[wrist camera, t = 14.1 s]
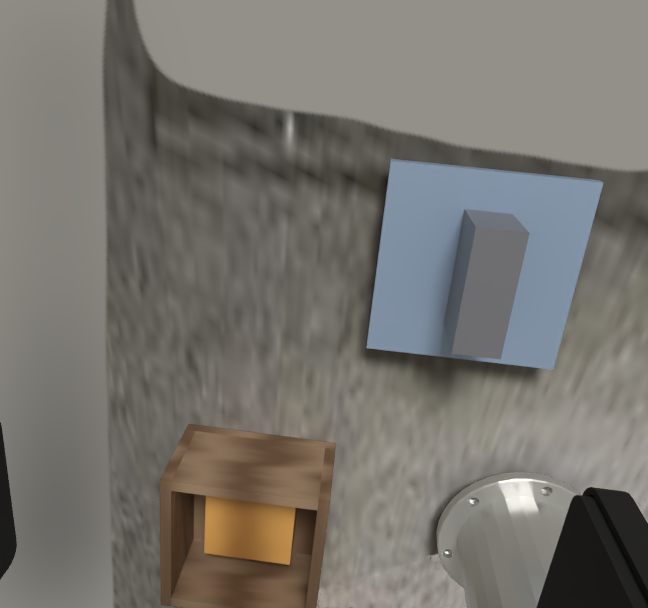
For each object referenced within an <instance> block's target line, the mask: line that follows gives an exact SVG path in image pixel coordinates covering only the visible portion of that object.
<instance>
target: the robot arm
mask: <svg viewBox="0 0 648 608" xmlns="http://www.w3.org/2000/svg"><path fill="white" fill-rule="evenodd" d="M436 535H437V548H438V554H439V558H440V560H441V562H442V564H443V567H444V568H445V570H446V571H447V572H448V574H449V575H450V577H451V578H452V579H454V580H455V581H456V582H457V583H458V584H459V585H460V586H462V587H463V588H464V591H465V597H466V603H467V608H648V523H647V522H646V520H645V518H644V516H643V515H642V513H641V511H640V510H639V508H638V506H637V505H636V503H635V501H634V500H633V498H632V497H631V496H630V494H629V493H627V492H623V491H616V490H608V489H600V488H593V487H590V488H587V489H586V490H585V491H584V493H583V495H581V494H580V493H579V492H578V491H577V490H575V489H574V488H572V487H571V486H569V485H568V484H566V483H565V482H562V481H560V480H558V479H555V478H553V477H550V476H546V475H542V474H538V473H527V472H513V473H503V474H499V475H494V476H490V477H487V478H485V479H482V480H480V481H477V482H475V483H473V484H471V485H470V486H468V487H466V488H465V489H463V490H462V491H461V492H459V493H458V494H457V495H456V496H455V497H454V498H453V499H452V500H451V501H450V502H449V504H448V505H447V506H446V508H445V509H444V510H443V513H442V515H441V517H440V519H439V522H438V527H437V532H436ZM16 546H17V544H16V534H15V526H14V518H13V511H12V503H11V496H10V488H9V480H8V473H7V465H6V457H5V449H4V442H3V434H2V427H1V423H0V579H1V578H2V576H3V575H4V573H5V572H6V571H7V569H8V568H9V566H10V565H11V563H12V560H13V558H14V555H15V552H16Z"/></svg>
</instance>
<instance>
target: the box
mask: <svg viewBox="0 0 648 608" xmlns="http://www.w3.org/2000/svg"><path fill="white" fill-rule="evenodd" d="M335 447H336V443H330V442H322V441H315V440H307V439H299V438H292V437H284V436H276V435H269V434H261V433H253V432H246V431H238V430H231V429H223V428H215V427H208V426H200V425H192V424H189V425H188V426H187V428H186V430H185V432H184V434H183V436H182V438H181V440H180V442H179V444H178V446H177V448H176V450H175V452H174V454H173V456H172V458H171V460H170V461H169V463H168V465H167V467H166V469H165V471H164V473H163V475H162V477H161V479H160V554H161V605H168V606H175V607H182V608H316V606H317V598H318V590H319V583H320V575H321V567H322V560H323V552H324V544H325V536H326V529H327V521H328V513H329V506H330V496H331V487H332V477H333V467H334V457H335Z"/></svg>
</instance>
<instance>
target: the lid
mask: <svg viewBox="0 0 648 608" xmlns="http://www.w3.org/2000/svg"><path fill="white" fill-rule="evenodd" d="M602 186H603V182H601V181H599V180H592V179H582V178H572V177H563V176H553V175H543V174H533V173H524V172H514V171H504V170H494V169H485V168H475V167H465V166H456V165H446V164H436V163H426V162H417V161H407V160H397V159H391V160H390V167H389V175H388V183H387V190H386V198H385V206H384V214H383V221H382V229H381V237H380V244H379V252H378V260H377V267H376V275H375V283H374V291H373V298H372V306H371V314H370V321H369V329H368V337H367V348H370V349H379V350H387V351H396V352H405V353H413V354H422V355H431V356H439V357H448V358H457V359H465V360H474V361H483V362H491V363H500V364H509V365H517V366H526V367H535V368H543V369H552V370H553V368H554V365H555V361H556V357H557V353H558V350H559V346H560V342H561V339H562V335H563V331H564V327H565V324H566V320H567V316H568V313H569V309H570V305H571V301H572V298H573V294H574V290H575V287H576V283H577V279H578V275H579V272H580V268H581V264H582V260H583V257H584V253H585V249H586V246H587V242H588V238H589V234H590V231H591V227H592V223H593V220H594V216H595V212H596V208H597V205H598V201H599V197H600V194H601V190H602Z"/></svg>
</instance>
